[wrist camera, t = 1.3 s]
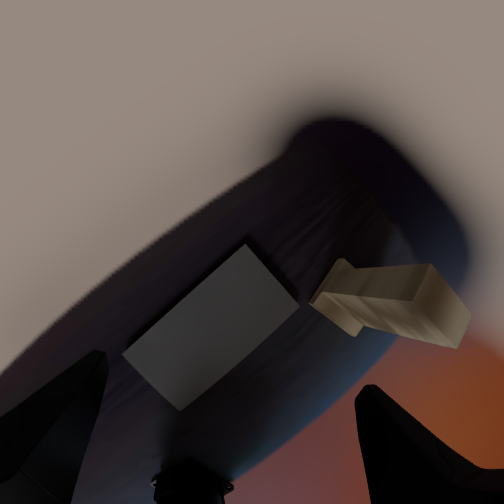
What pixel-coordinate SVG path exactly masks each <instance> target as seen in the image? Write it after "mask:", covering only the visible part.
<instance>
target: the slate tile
mask: <svg viewBox="0 0 504 504" xmlns="http://www.w3.org/2000/svg"><path fill="white" fill-rule="evenodd" d="M299 307H300V306H299V305H298V304H297V302H296V301H295V300H294V299H293V298H292V297H291V296H290V294H289V293H288V292H287V291H286V290H285V289H284V288H283V286H282V285H281V284H280V283H279V282H278V281H277V279H276V278H275V277H274V276H273V275H272V274H271V273H270V271H269V270H268V269H267V268H266V267H265V266H264V265H263V263H262V262H261V261H260V260H259V259H258V258H257V257H256V255H255V254H254V253H253V252H252V251H251V250H250V249H249V247H248V246H247V245H246V244H244V245H243V246H242V247H241V248H240V249H239V250H237V251H236V252H235V253H234V254H233V255H232V256H231V257H229V258H228V259H227V260H226V261H225V262H224V263H223V264H222V265H220V266H219V267H218V268H217V269H216V270H215V271H214V272H213V273H211V274H210V275H209V276H208V277H207V278H206V279H205V280H204V281H202V282H201V283H200V284H199V285H198V286H197V287H196V288H195V289H193V290H192V291H191V292H190V293H189V294H188V295H187V296H186V297H184V298H183V299H182V300H181V301H180V302H179V303H178V304H177V305H176V306H174V307H173V308H172V309H171V310H170V311H169V312H168V313H167V314H165V315H164V316H163V317H162V318H161V319H160V320H159V321H158V322H157V323H155V324H154V325H153V326H152V327H151V328H150V329H149V330H148V331H147V332H146V333H144V334H143V335H142V336H141V337H140V338H139V339H138V340H137V341H136V342H134V343H133V344H132V345H131V346H130V347H129V348H128V349H127V350H126V351H125V352H124V353H123V354H122V355H123V356H124V357H125V358H126V359H127V360H128V361H129V363H130V364H131V365H132V366H133V367H134V368H135V369H136V370H137V371H138V372H139V373H140V374H141V375H142V376H143V377H144V378H145V379H146V380H147V381H148V382H149V383H150V384H151V385H152V386H153V387H154V388H155V389H156V390H157V391H158V392H159V393H160V394H161V395H162V396H163V397H164V398H165V399H167V400H168V401H169V402H170V403H171V404H172V405H173V406H174V407H175V408H177V409H178V410H179V411H181V410H183V409H184V408H185V407H186V406H188V405H189V404H190V403H192V402H193V401H194V400H195V399H197V398H198V397H199V396H200V395H201V394H203V393H204V392H205V391H206V390H208V389H209V388H210V387H211V386H212V385H214V384H215V383H216V382H217V381H218V380H220V379H221V378H222V377H223V376H224V375H225V374H227V373H228V372H229V371H230V370H231V369H232V368H234V367H235V366H236V365H237V364H238V363H239V362H240V361H242V360H243V359H244V358H245V357H246V356H247V355H248V354H249V353H251V352H252V351H253V350H254V349H255V348H256V347H257V346H258V345H259V344H261V343H262V342H263V341H264V340H265V339H266V338H267V337H268V336H269V335H270V334H271V333H273V332H274V331H275V330H276V329H277V328H278V327H279V326H280V325H281V324H282V323H283V322H284V321H285V320H286V319H287V318H288V317H289V316H290V315H292V314H293V313H294V312H295V311H296V310H297V309H298V308H299Z"/></svg>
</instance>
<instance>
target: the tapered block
mask: <svg viewBox="0 0 504 504" xmlns="http://www.w3.org/2000/svg"><path fill="white" fill-rule="evenodd" d="M309 304H310V305H312V306H313V307H314V308H315V309H317V310H318V311H319V312H321V313H322V314H323V315H325V316H326V317H327V318H328V319H330V320H331V321H332V322H334V323H335V324H336V325H338V326H339V327H340V328H341V329H343V330H344V331H345V332H347V333H348V334H349V335H352V336H354V337H356V336H357V334H358V333H359V331H360V330H361V328H362V327H363V326H367V327H371V328H374V329H378V330H382V331H386V332H389V333H393V334H397V335H401V336H405V337H409V338H413V339H417V340H421V341H425V342H429V343H433V344H437V345H441V346H446V347H450V348H454V349H457V348H458V346H459V344H460V342H461V340H462V338H463V335H464V333H465V331H466V328H467V326H468V324H469V321H470V319H471V317H472V315H471V314H470V313H469V311H468V310H467V308H466V307H465V306H464V304H463V303H462V302H461V300H460V299H459V298H458V296H457V295H456V294H455V292H454V291H453V290H452V289H451V287H450V286H449V285H448V284H447V282H446V281H445V280H444V279H443V277H442V276H441V275H440V274H439V273H438V272H437V270H436V269H435V268H434V267H433V266H432V265H431V263H429V264H416V265H402V266H388V267H373V268H357V269H355V268H354V267H353V266H352V265H351V264H350V263H348V262H347V261H346V260H345V259H344V258H341V259H337V261H336V262H335V264H334V265H333V267H332V268H331V270H330V271H329V273H328V274H327V276H326V278H325V279H324V281H323V282H322V283H321V285H320V286H319V288H318V289H317V291H316V292H315V294H314V295H313V297H312V298H311V300H310V301H309Z"/></svg>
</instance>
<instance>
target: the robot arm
mask: <svg viewBox="0 0 504 504" xmlns="http://www.w3.org/2000/svg"><path fill="white" fill-rule="evenodd" d="M108 373H109V366H108V359H107V353H106V352H105V351H102V350H98V349H93V350H92V351H90V352H89V353H88V354H86V355H85V356H83V357H82V358H81V359H79V360H78V361H77V362H75V363H74V364H72V365H71V366H70V367H68V368H67V369H66V370H64V371H63V372H61V373H60V374H59V375H57V376H56V377H55V378H53V379H52V380H50V381H49V382H48V383H46V384H45V385H44V386H42V387H41V388H40V389H38V390H37V391H35V392H34V393H33V394H31V395H30V396H29V397H27V398H26V399H25V400H23V401H22V403H19V404H18V405H16V406H15V407H14V408H12V409H11V410H10V411H8V412H7V413H5V414H4V415H2V416H1V417H0V504H71V500H72V496H73V492H74V489H75V485H76V481H77V478H78V474H79V471H80V468H81V464H82V461H83V458H84V455H85V452H86V449H87V446H88V443H89V440H90V437H91V434H92V431H93V428H94V425H95V422H96V420H97V417H98V414H99V410H100V406H101V402H102V397H103V393H104V389H105V385H106V381H107V378H108ZM355 412H356V421H357V430H358V438H359V443H360V447H361V452H362V457H363V462H364V467H365V473H366V478H367V483H368V489H369V495H370V501H371V504H504V469H483V468H480V467H478V466H476V465H474V464H473V463H471V462H470V461H468V460H467V459H465V458H464V457H462V456H461V455H460V454H458V453H457V452H455V451H454V450H452V449H451V448H450V447H448V446H447V445H446V444H445V443H444V442H442V441H441V440H440V439H439V438H437V437H436V436H435V435H434V434H433V433H431V432H430V431H429V430H428V429H427V428H426V427H424V426H423V425H422V424H421V423H420V422H419V421H417V420H416V419H415V418H414V417H413V416H411V415H410V414H409V413H408V412H407V411H406V410H405V409H403V408H402V407H401V406H400V405H399V404H398V403H396V402H395V401H394V400H393V399H392V398H391V397H389V396H388V395H387V394H386V393H385V392H384V391H382V390H381V389H380V388H379V387H378V386H377V385H374V384H372V385H371V384H370V385H366V386H364V387H363V389H362V390H361V391H360V393H359V394H358V395H357V397H356V398H355ZM189 462H192V463H189ZM151 486H152V487H154V488H155V492H154V501H156V502H157V504H225V500H224V495H226V494H228V493H229V492H231V491H233V490H234V486H233V484H231V483H229V482H228V481H226V480H224V479H223V478H221V477H220V476H218V475H217V474H215V473H213V472H212V471H210V470H209V469H207V468H206V467H205V466H203V465H202V464H200V463H199V462H197V461H196V460H194V459H193V458H187V459H186V460H184V461H183V462H181V463H179V464H178V465H176V466H173V467H171V468H169V469H167V470H166V471H164V472H163V473H161V474H159V475H158V476H157V478H155V479H154V480H152V481H151ZM228 487H230V488H228Z"/></svg>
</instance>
